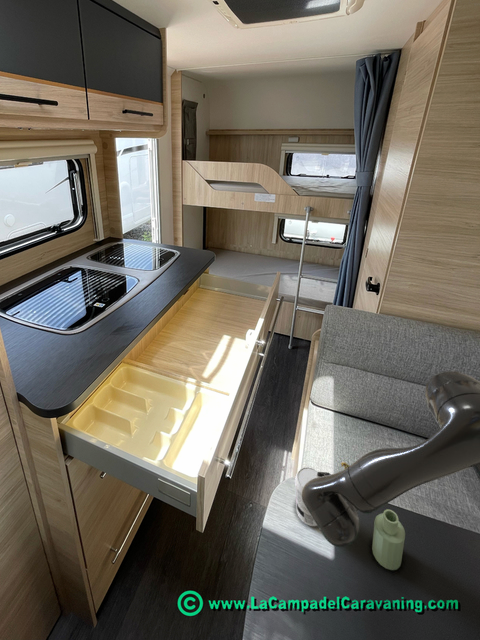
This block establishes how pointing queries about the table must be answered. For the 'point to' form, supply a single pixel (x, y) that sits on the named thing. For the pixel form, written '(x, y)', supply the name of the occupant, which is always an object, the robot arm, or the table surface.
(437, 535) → the table surface
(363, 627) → the table surface
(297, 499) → the supplement can
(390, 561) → the green bottle
